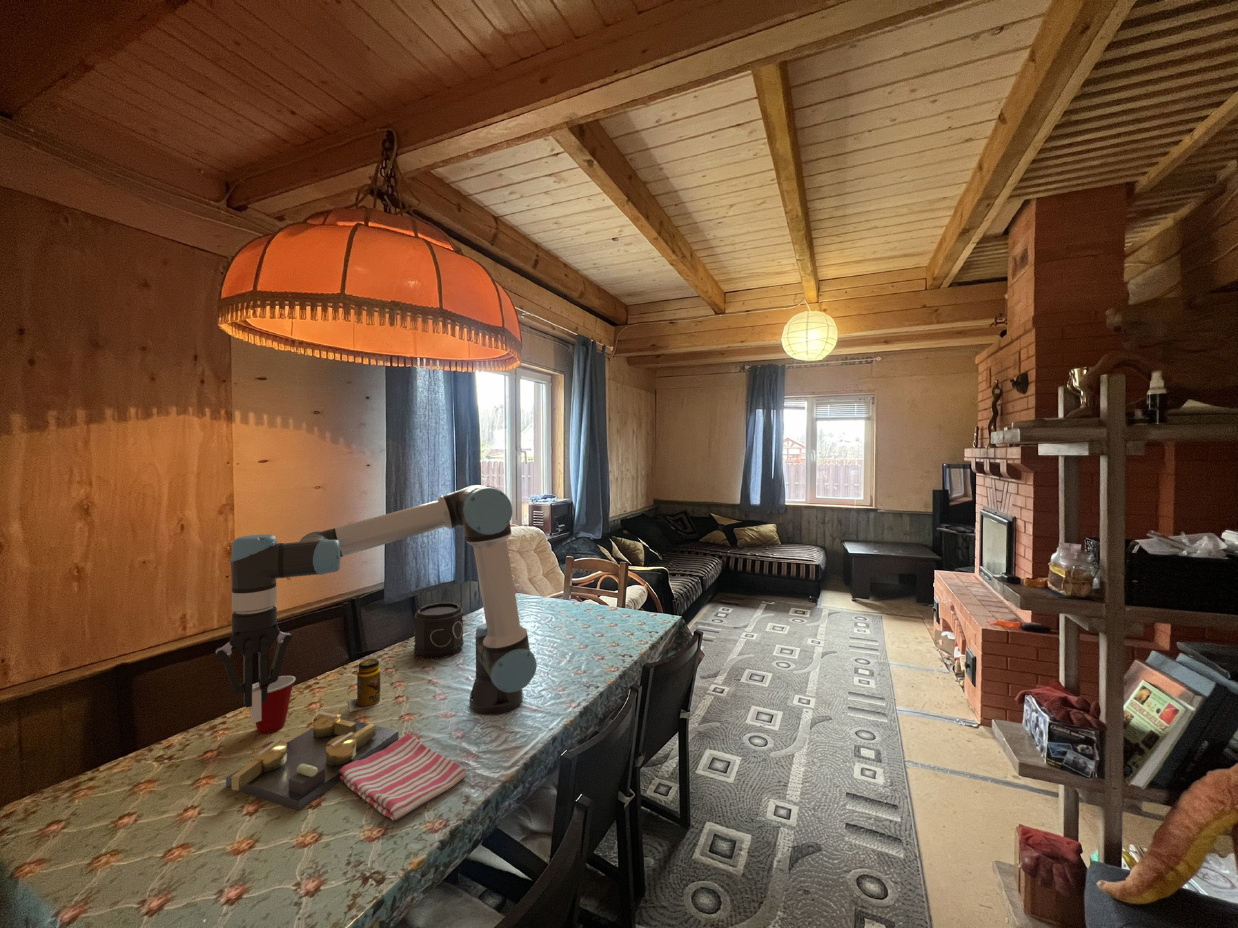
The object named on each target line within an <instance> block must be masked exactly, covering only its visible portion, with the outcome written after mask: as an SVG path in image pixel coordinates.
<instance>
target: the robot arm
mask: <svg viewBox="0 0 1238 928" xmlns="http://www.w3.org/2000/svg"><path fill="white" fill-rule="evenodd" d="M512 517H513V506H512V502H511V500H510V498H509V497H508V496H507V494H506V493H504V492H503V491H502V490H501V489H498V488H497V487H494V486H490V485H482V484H474V485H470V486H466V487H464V488H461V489H458V490H456V491H453V492H449V493H447V494H444V495H440V496H439V498H438V499H437V500H434V501H430V502H428V503H422V504H419V505H417V506H412V507H409V508H404V509H400V510H397V511H392V512H390V513H386V514H382V515H379V516H375V517H372V518H371V517H369V518H368V519H362V520H359V521H356V522H351V523H348V524H345V525H341V526H340V525H339V526H337V527H335V528H329V529H326V530H323V531H320V530H319V531H318V530H317V531H311V532H309V533H306V534H305V535H304V536H302V537H301V539H300V540H299V541H295V542H284V543H283V542H278V540H277V538H276V536H275V535H274V534H269V533H267V534H251V535H242V536H239V537H237V538H235V539H234V540H233V541H232V543H231V557H230V568H231V569H230V570H231V571H230V572H231V575H230V576H231V577H230V578H231V611H232V612H233V613H232V615H231V635H230V637H229V638H228V642H227V643H226V644H224V645H223V646H222V647H217V648H216V649H215V654H216V656H217V657H218V658H219V659H220V660H221V661H222V662H223V665H224V669H225V671H226V673H227V674H226V675H227V676H228V678H229V682H230V685H231V688H232V690H233V692H234V693H235V694H238V693H243V704H244V707H245V708H246V709H248V708H250V710H249V711H250V713H249V714H250V720H251V723H252V724H256V722H259V721H262V719H261V703H264V702H266V701H267V688H268V686H269V685H270V684H271V683H274V682H276V681H277V680H278V677H280V673H281V669H282V666H283V661H284V657H285V654H286V650H287V646H288V645H289V643H290V642H291V640H292V638H293V636H292V635H291V633H290V632H283V631H281V629H280V628H279V627H278V617H277V616H278V607H276V604H277V601H278V598H277V596H278V595H277V593H278V592H277V579H285V578H286V579H287V578H294V577H295V578H296V577H306V576H314V575H316V576H317V575H319V576H320V575H321V576H323V575H325V574H331V573H336V572H338V571H339V570H340V568H341V558H342V557H347V556H349V555H352V554H356V553H358V552H359V553H360V552H363V551H366V550H370V549H374V548H376V547H380V546H383V545H388V544H389V543H393V542H397V541H401V540H404V539H407V538H411V537H415V536H418V535H421V534H425V533H427V532H432V531H435V530H439V529H442V528H447V529H449V530H452V529H455V528H460V527H463V530H464V538H465V542H466V543H467V544H468V545H470V546H472V547H473V552H474V553H473V554H474V559H475V565H476V571H477V577H478V582H479V589H480V594H481V600H482V606H483V615H484V619H485V623H482V624H480V625H479V626H477V628H476V629H475V635H474V639H475V678H474V682H473V685H472V688H471V692H470V693H469V694H470V695H469V709H470V710H471V711H472V712H474V713H476V714H479V715H485V716H487V715H488V716H493V715H495V716H496V715H500V714H504V713H507V712H510V711H512V710H514V709H516V708H517V707H519V706H520V704H522V702H523V699H524V698H523V694H524V693H523V689H524V688H525V687H527V686H528V685H529V684H530V683H531V681H532V680H533V678H534V677H535V674H536V672H537V667H538V666H537V665H538V663H537V659H536V657H535V655H534V653H533V652H532V651H531V649H530V648H531V647H530V642H529V635H528V630H527V628H525V627H523V626H522V625H521V621H520V615H519V610H518V603H517V597H516V592H515V590H516V589H515V584H514V579H513V578H514V577H513V572H512V566H511V559H510V558H511V557H510V554H509V552H510V551H509V547H508V546H509V545H508V539H509V538H510V536H511V534H512V528H511V527H512V526H511V520H512ZM275 641H277V645H276V649H275V651H274V655H273V656H274V657H273V660H272V662H271V663H272V664H271V667H270V672H269V671H268V670H269V669H268V666H269V665H268V655H269V653H268V652H269V651H268V650H269V649H270V647H271V646H272V645H273V644H274V642H275ZM232 648H233V649H235V650H236V651H237V652H238V653H239V654H241V655H242V669H243V670H242V671H243V672H242V675H243V676H242V682H243V683H240V680H239V677H238V675H237V672H236V669H235V666H234V664H233V661H232V658H231V655H232V654H233V653H232ZM254 654H257V656H258V658H257V659H258V661H257V662H258V664H257V665H258V669H257V670H258V682H259V686H256V687H253V688H252V685H253V656H254ZM268 674H269V675H268Z"/></svg>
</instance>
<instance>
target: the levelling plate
mask: <svg viewBox="0 0 1238 928" xmlns="http://www.w3.org/2000/svg"><path fill="white" fill-rule="evenodd" d="M341 719H342V720H346V721H350V722H354V723H356V732H358V731H359V730H361V729H362V728H364V727H365V726H367V725H369V724H370V723H366V722H361V721H357V720H353V719H349V718H344V717H341ZM338 736H341V735H338V734H332V735H329V736H325V737H316V736H314V735H313V727H312V728H311V729H309V730H307V731H305V732H303V733H301V734H300V735H298V736H296V737H294V738H292V739H291V740H289V741H286V742H287V761H286V762H285V763H284V764H283V765H282V766H280V767H278V768H276V769H274V770H272V771H268V772H262V773H261V774H259V775H258V776H257V777H255V778H254V779H253V780H252V781H250V782H249V783H248V784H246V785H245V786H244V787H242V788H241V789H240V790H237V791H238V792H242V793H244V794H248V795H250V796H254V797H256V798H260V799H263V800H265V801H269V802H272V803H274V804H277V805H281V806H283V807H287V808H290V809H292V810H295V811H298V812H299V811H301V810H302V809H303V808H305V807H307V806H308V805H309V804H311V803H313V801H315V800H316V799H318V798H319V797H320V796H322V795H323V794H324V793H326V792H327V791H328V790H330V789H332V788H333V787H334V786H336V785H337V784H338V783H340V782H341V781H342V780H341V779H340V776H341V775H342V774H341V773H340V772H339V770H340V769H341V768H342V767H343V766H344V765H347V764H349V763H352V762H355V761H358V760H362V759H365V758H367V757H369V756H371V755H373V754H375V753H377V752H379V751H382V750H384V749H386V748H387V747H388V746H390V745H391V744H393V743H394V742H396V741H398V740H399V730H395V729H391V728H388V727H387V728H386V727H382V726H379V725H375V736H374V737H373V738H371V739H370V740H368V741H367V742H365V743H364V744H362V745H361V746H359V747H358V748H356V755H355V757H354V758H353V759H352V760H350V761H348V762H346V763H344V764H340V765H328V764H327V763H326V744H327V743H328V742H329V741H330V740H332V739H333V738H335V737H338ZM300 764H307V765H311V764H312V765H316V766H319V767H323V768H325V780H323V781H322V782H320V783H319V784H318V785H316V786H315V787H313V788H312V789H310V790H309V791H307V792H306V793H305V794H303V795H301V794H298V793H295V792H292V791H289V778H291V777H293V776H294V775H296V774H297V767H298V766H299V765H300ZM244 767H245V766H244ZM244 767H241V768H240V769H238V770H236V771H234V772H233V773H230V774H229V775H227V776H226V777H225V787H227V788H229V787H230V789H232V776H233V775H234V774H236V773H237V772H238V771H240V770H241V769H242V768H244Z"/></svg>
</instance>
